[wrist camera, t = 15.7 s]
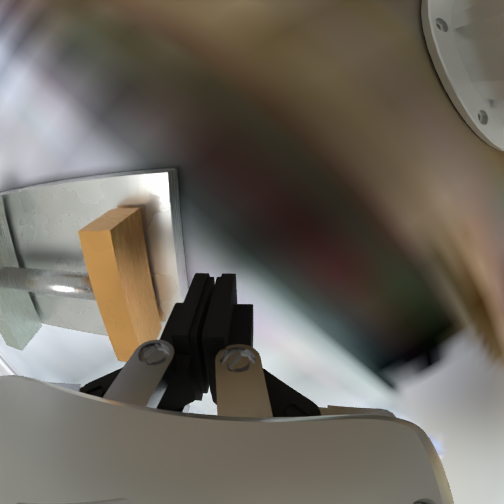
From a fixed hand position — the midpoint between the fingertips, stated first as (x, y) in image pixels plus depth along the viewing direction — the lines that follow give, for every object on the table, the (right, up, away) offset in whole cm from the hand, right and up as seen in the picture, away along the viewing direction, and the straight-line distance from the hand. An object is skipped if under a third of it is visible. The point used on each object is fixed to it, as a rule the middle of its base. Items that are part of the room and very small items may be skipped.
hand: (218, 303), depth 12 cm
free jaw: (-10, +1, +2) cm, 11 cm away
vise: (-16, +2, +4) cm, 16 cm away
